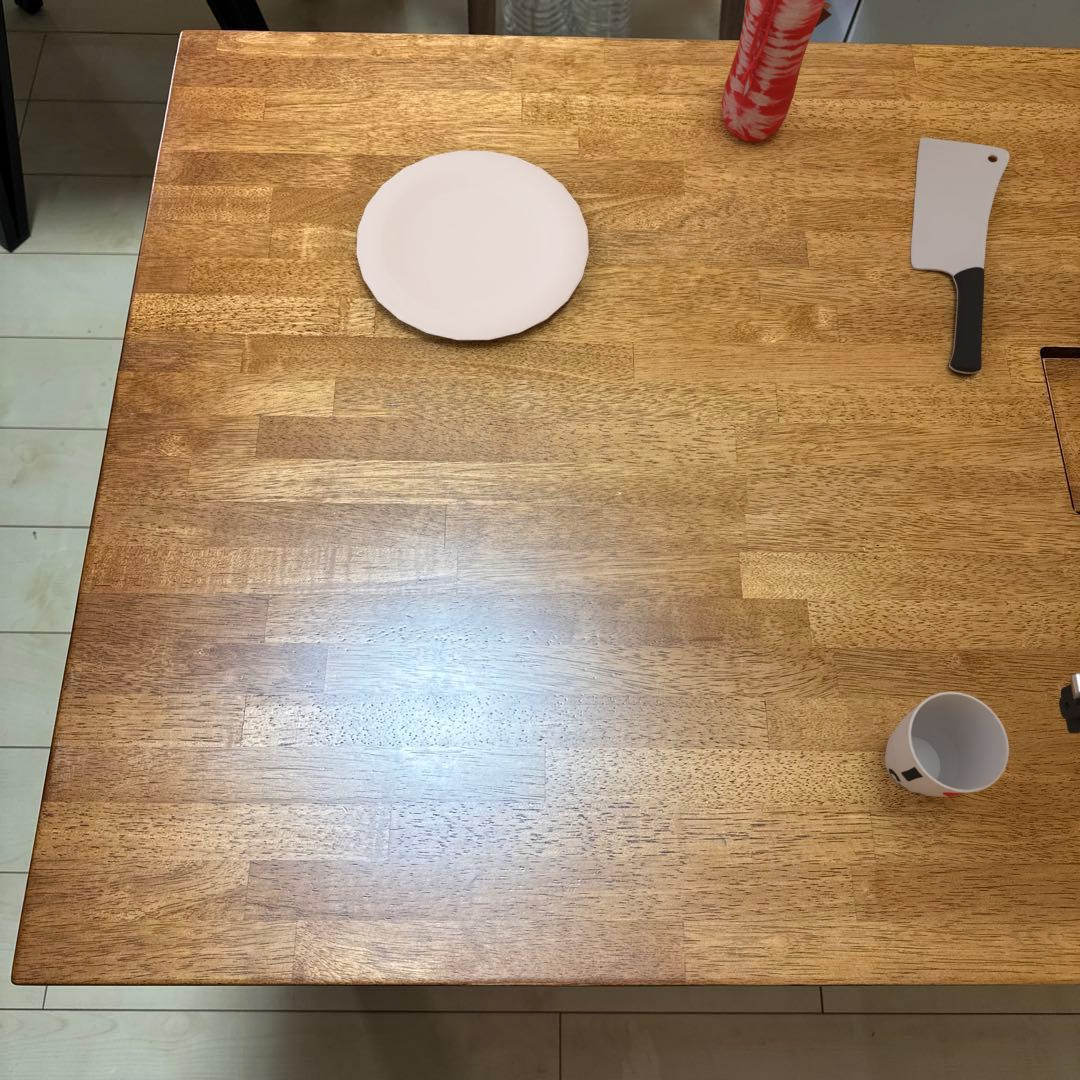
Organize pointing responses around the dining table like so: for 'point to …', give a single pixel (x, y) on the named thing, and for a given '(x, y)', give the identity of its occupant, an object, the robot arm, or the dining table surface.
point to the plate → (472, 245)
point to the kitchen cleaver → (957, 230)
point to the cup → (947, 747)
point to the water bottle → (768, 64)
